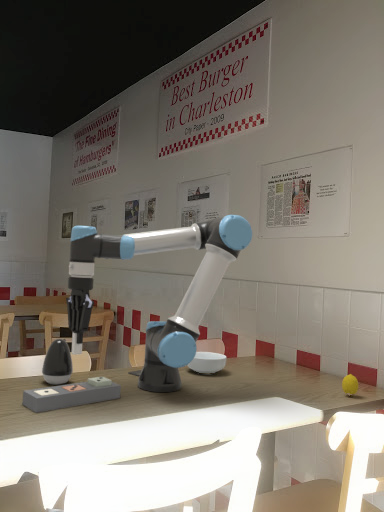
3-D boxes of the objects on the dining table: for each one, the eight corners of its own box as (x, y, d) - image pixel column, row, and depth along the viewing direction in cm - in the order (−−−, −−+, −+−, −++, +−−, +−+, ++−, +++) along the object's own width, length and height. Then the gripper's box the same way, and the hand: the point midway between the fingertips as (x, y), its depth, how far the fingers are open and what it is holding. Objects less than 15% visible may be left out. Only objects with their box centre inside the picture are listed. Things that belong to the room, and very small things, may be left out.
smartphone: (167, 370, 193) (139, 375, 182) (167, 372, 193) (139, 377, 182) (154, 367, 198) (126, 371, 187) (154, 369, 198) (126, 374, 187)
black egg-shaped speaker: (76, 380, 171) (78, 337, 171) (65, 387, 161) (68, 342, 161) (48, 378, 172) (51, 335, 172) (36, 385, 162) (39, 339, 162)
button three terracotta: (77, 393, 150) (77, 384, 151) (86, 397, 146) (86, 388, 147) (60, 395, 147) (61, 386, 147) (69, 400, 143) (70, 390, 143)
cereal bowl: (228, 370, 203) (229, 353, 203) (222, 379, 187) (223, 360, 187) (189, 366, 207) (190, 349, 207) (179, 374, 190) (180, 356, 191)
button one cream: (50, 397, 144) (50, 387, 144) (59, 402, 140) (59, 392, 140) (32, 400, 141) (33, 390, 141) (41, 405, 137) (41, 394, 137)
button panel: (104, 391, 159) (105, 379, 159) (120, 397, 153) (120, 385, 153) (22, 404, 140) (23, 390, 140) (36, 412, 134) (37, 398, 134)
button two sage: (102, 384, 157) (102, 375, 157) (111, 388, 153) (112, 379, 153) (87, 387, 153) (87, 377, 153) (96, 391, 149) (97, 381, 149)
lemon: (358, 396, 173) (359, 373, 173) (356, 399, 168) (358, 376, 168) (342, 393, 175) (343, 371, 175) (340, 396, 170) (341, 374, 170)
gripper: (59, 275, 149) (55, 351, 149) (81, 277, 140) (76, 358, 140) (81, 275, 155) (76, 349, 154) (103, 278, 145) (98, 356, 145)
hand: (76, 353), depth 147 cm, fingers closed
